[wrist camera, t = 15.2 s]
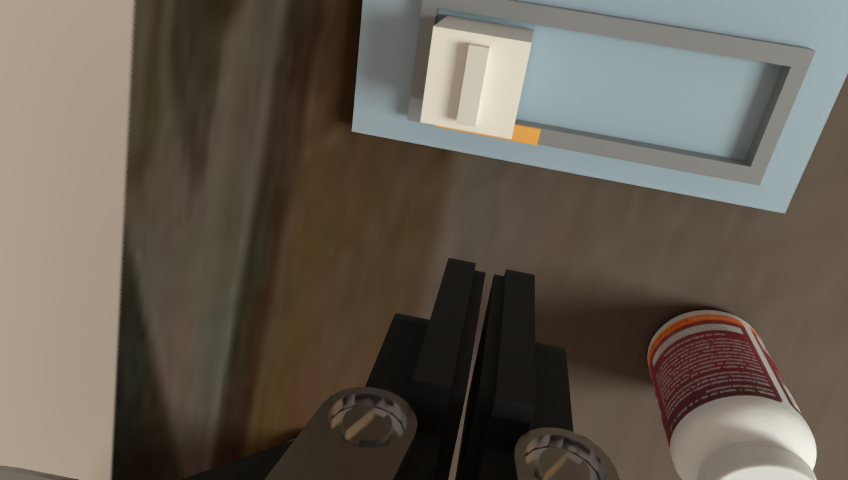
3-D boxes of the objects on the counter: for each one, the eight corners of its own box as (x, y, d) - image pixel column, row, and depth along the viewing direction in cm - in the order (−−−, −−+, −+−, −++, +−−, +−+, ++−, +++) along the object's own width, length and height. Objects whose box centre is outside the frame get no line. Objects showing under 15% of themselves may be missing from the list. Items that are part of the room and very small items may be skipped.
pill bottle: (623, 362, 36) (652, 515, 27) (690, 286, 34) (749, 426, 24) (712, 410, 37) (772, 577, 27) (785, 339, 34) (882, 498, 24)
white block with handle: (516, 113, 30) (510, 143, 25) (436, 99, 30) (417, 126, 26) (533, 29, 28) (531, 44, 24) (448, 14, 28) (430, 27, 24)
